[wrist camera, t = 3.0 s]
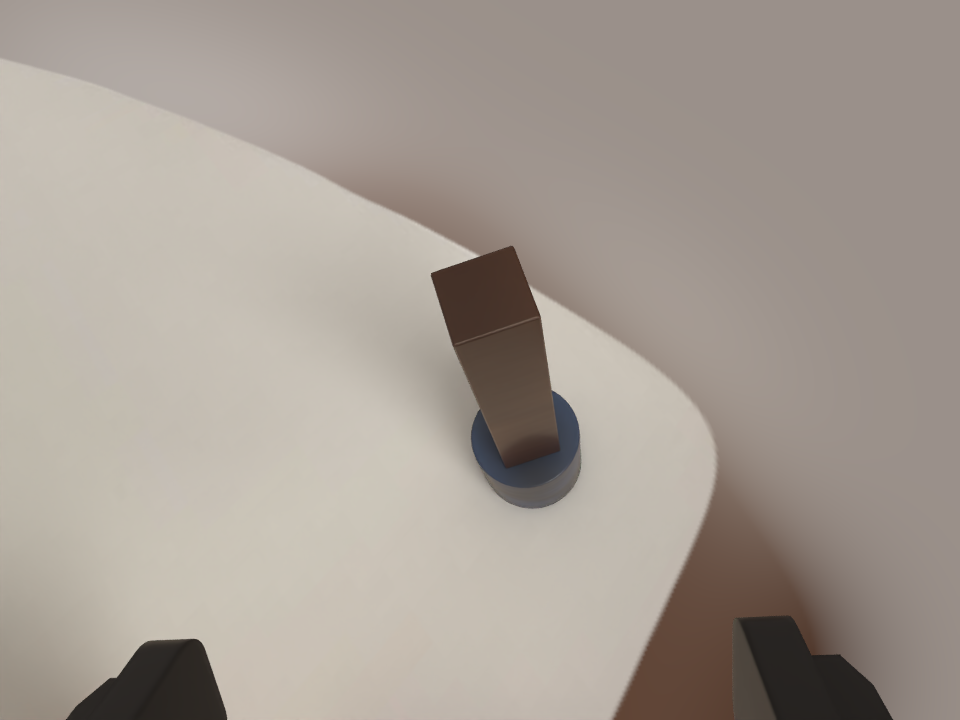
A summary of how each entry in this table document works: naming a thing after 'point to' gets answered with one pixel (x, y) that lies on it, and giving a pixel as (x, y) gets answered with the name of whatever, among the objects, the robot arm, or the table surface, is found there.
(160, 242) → the table surface
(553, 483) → the brush
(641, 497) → the table surface
